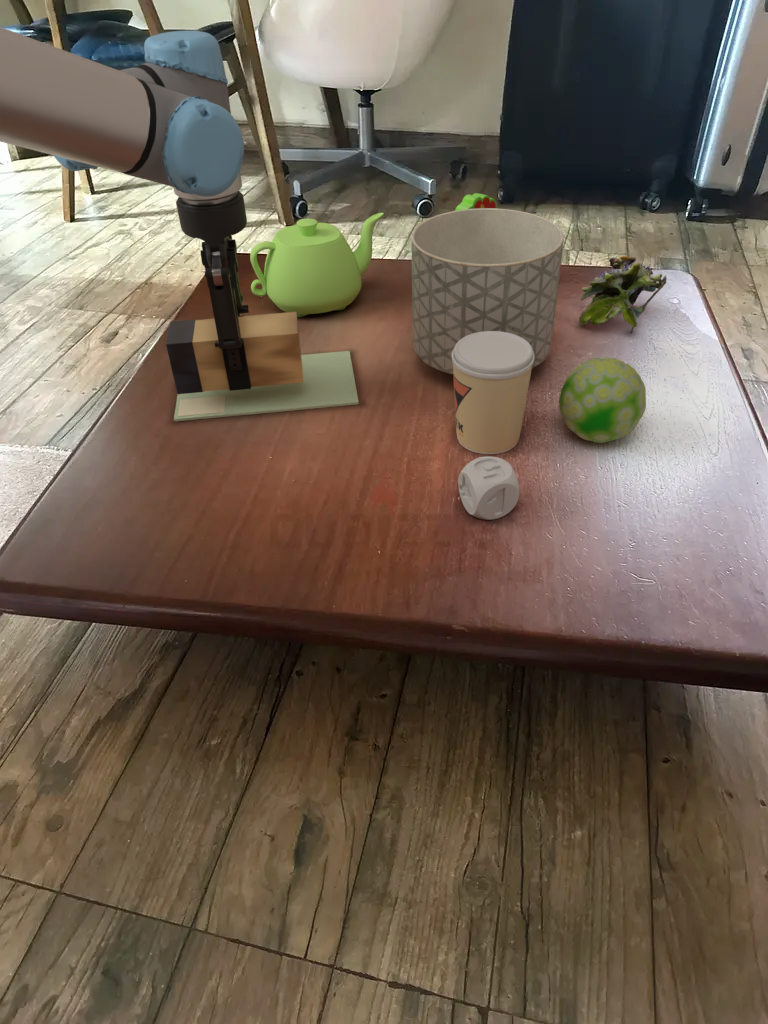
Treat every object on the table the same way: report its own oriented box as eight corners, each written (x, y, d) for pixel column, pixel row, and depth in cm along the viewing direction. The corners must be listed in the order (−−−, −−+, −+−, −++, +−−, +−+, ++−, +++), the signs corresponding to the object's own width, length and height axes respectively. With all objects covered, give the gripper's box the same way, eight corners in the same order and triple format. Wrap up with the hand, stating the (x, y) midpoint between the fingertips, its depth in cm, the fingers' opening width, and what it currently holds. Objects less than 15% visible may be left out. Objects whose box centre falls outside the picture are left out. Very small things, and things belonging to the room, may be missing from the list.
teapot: (373, 272, 134) (370, 195, 126) (400, 309, 123) (398, 226, 115) (246, 293, 130) (234, 213, 121) (263, 332, 119) (250, 248, 110)
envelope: (174, 421, 101) (173, 418, 101) (182, 367, 111) (181, 364, 111) (358, 404, 103) (358, 401, 102) (349, 353, 113) (349, 349, 113)
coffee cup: (452, 413, 100) (454, 328, 92) (526, 417, 99) (534, 330, 91) (446, 456, 93) (448, 367, 85) (526, 461, 92) (535, 371, 84)
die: (475, 525, 83) (477, 488, 80) (457, 497, 87) (458, 461, 84) (518, 513, 85) (521, 477, 81) (497, 487, 88) (500, 451, 85)
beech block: (301, 359, 105) (296, 311, 101) (303, 383, 101) (297, 332, 96) (181, 370, 104) (170, 321, 100) (177, 394, 99) (165, 344, 95)
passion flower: (608, 342, 124) (652, 273, 120) (644, 362, 115) (694, 288, 111) (555, 310, 119) (599, 237, 115) (589, 329, 110) (638, 250, 106)
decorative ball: (609, 406, 100) (622, 335, 94) (654, 448, 93) (671, 375, 86) (540, 422, 98) (548, 351, 91) (580, 467, 91) (592, 392, 84)
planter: (572, 351, 111) (589, 224, 99) (506, 413, 100) (517, 277, 88) (458, 319, 120) (462, 199, 108) (386, 372, 109) (381, 244, 97)
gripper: (181, 170, 94) (215, 343, 109) (167, 227, 80) (208, 417, 95) (244, 165, 95) (269, 338, 110) (240, 221, 80) (270, 411, 95)
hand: (240, 374), depth 102 cm, fingers closed on beech block, 6 cm apart
